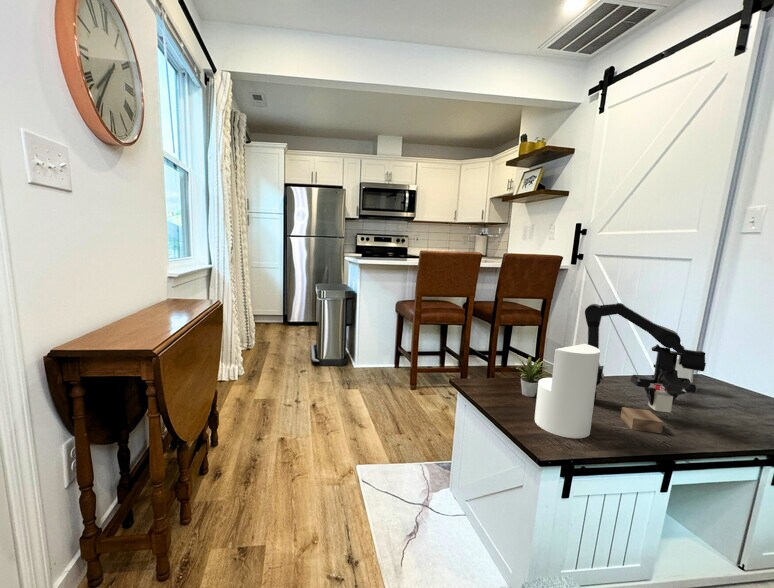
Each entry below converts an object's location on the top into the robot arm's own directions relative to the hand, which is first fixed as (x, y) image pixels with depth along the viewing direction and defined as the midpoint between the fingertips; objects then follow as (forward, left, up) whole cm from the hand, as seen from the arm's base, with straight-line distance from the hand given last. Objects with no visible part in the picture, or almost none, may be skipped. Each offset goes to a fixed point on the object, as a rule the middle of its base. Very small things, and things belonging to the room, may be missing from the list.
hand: (659, 405), depth 129 cm
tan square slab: (-9, -8, -5) cm, 13 cm away
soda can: (+12, +21, -5) cm, 25 cm away
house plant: (-44, +7, -5) cm, 45 cm away
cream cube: (0, 0, -1) cm, 1 cm away
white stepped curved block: (-37, -17, -5) cm, 41 cm away
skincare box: (+27, +39, -5) cm, 48 cm away
